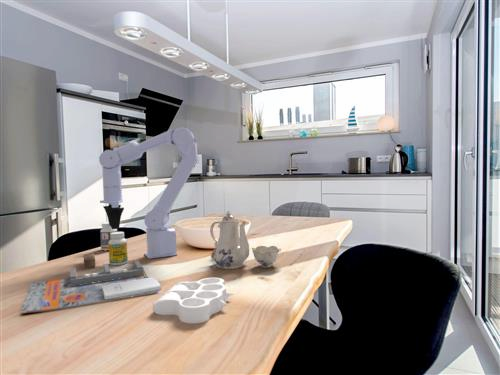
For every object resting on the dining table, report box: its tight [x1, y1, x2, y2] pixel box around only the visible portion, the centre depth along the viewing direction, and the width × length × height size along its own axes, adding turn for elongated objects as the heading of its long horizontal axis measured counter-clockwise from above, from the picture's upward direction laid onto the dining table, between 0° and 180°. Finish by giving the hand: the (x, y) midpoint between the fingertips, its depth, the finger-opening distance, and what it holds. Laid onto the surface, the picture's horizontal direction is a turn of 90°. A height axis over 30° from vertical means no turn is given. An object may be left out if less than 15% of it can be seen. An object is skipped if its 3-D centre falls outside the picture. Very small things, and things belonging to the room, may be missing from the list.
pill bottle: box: [99, 221, 118, 252], centre depth 126 cm, size 6×6×10 cm
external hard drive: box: [101, 276, 162, 300], centre depth 82 cm, size 2×8×12 cm
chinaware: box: [210, 210, 282, 270], centre depth 104 cm, size 28×17×17 cm, turn 47°
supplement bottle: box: [108, 231, 129, 266], centre depth 106 cm, size 5×5×10 cm
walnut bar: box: [83, 253, 96, 270], centre depth 104 cm, size 3×8×3 cm, turn 27°
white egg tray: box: [151, 277, 234, 324], centre depth 72 cm, size 3×18×15 cm
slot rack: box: [70, 259, 145, 287], centre depth 94 cm, size 18×10×2 cm, turn 117°
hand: (114, 227), depth 115 cm, fingers open, 7 cm apart
